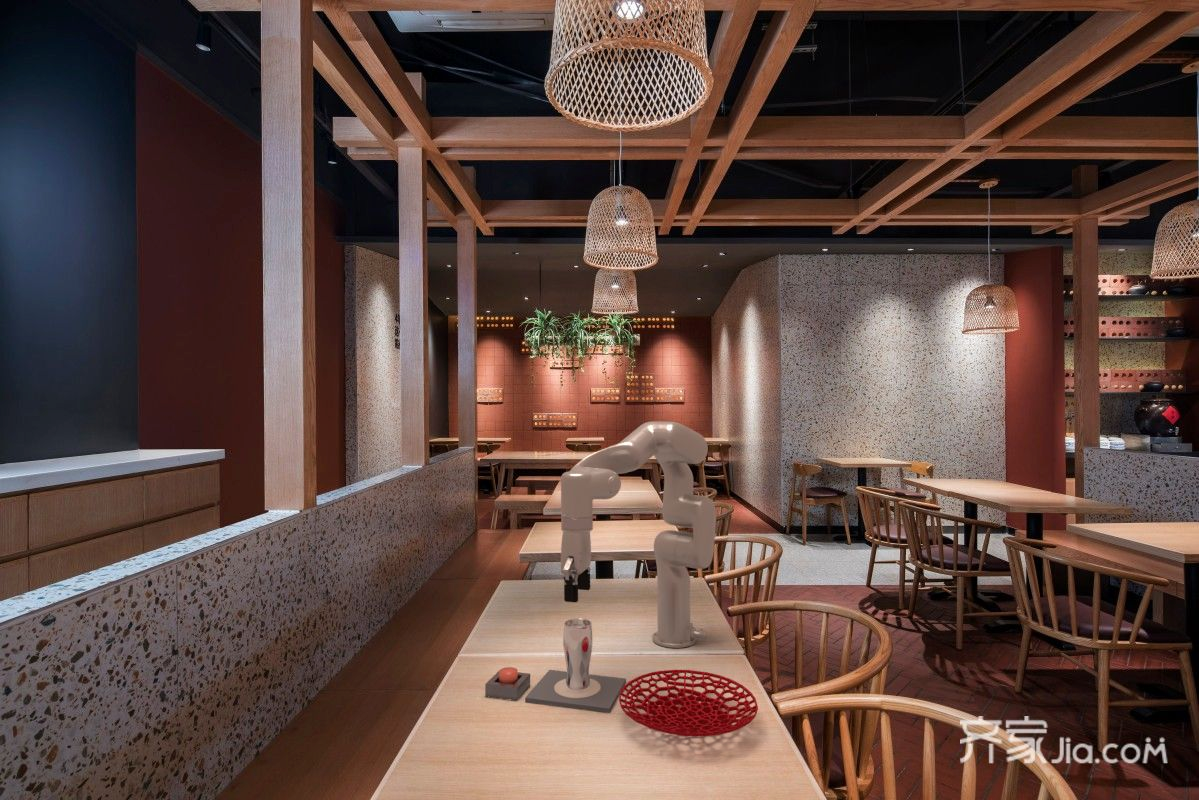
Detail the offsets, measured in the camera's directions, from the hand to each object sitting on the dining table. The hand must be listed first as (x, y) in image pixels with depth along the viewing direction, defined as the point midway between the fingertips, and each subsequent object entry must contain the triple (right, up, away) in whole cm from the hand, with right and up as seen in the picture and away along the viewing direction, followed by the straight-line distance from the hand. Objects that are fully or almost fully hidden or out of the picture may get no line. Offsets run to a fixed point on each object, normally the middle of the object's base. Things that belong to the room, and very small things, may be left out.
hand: (577, 595), depth 148 cm
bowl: (+24, -23, -15) cm, 36 cm away
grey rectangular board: (0, -23, -1) cm, 23 cm away
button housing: (-17, -23, 0) cm, 28 cm away
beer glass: (0, -22, 0) cm, 22 cm away
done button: (-17, -21, 0) cm, 27 cm away
